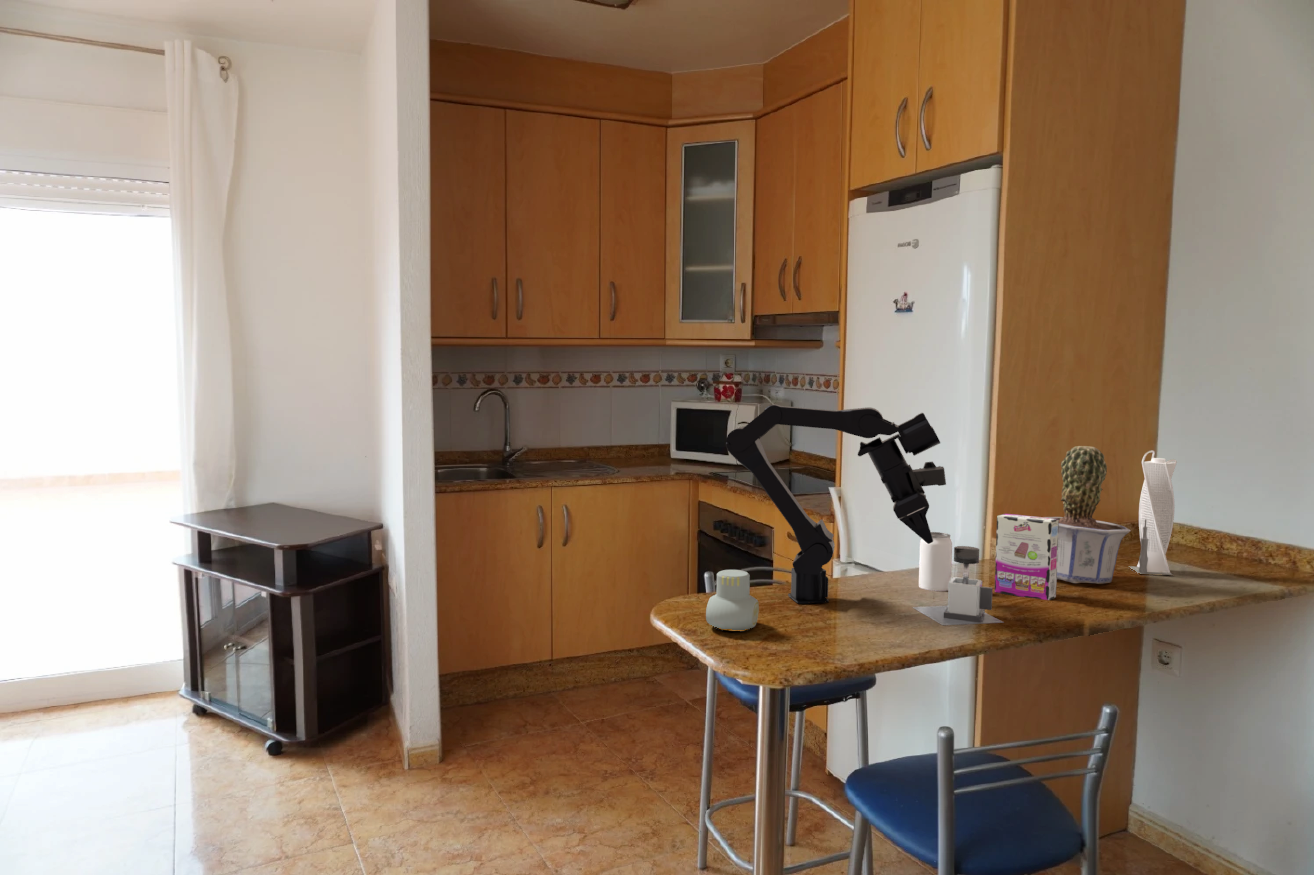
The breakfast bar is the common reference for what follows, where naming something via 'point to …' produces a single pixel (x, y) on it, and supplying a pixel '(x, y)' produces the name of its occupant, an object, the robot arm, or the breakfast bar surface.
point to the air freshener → (732, 602)
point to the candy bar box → (1026, 556)
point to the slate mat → (938, 616)
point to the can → (935, 562)
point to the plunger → (966, 559)
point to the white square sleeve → (968, 600)
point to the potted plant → (1085, 521)
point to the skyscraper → (1155, 515)
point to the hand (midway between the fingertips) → (929, 538)
